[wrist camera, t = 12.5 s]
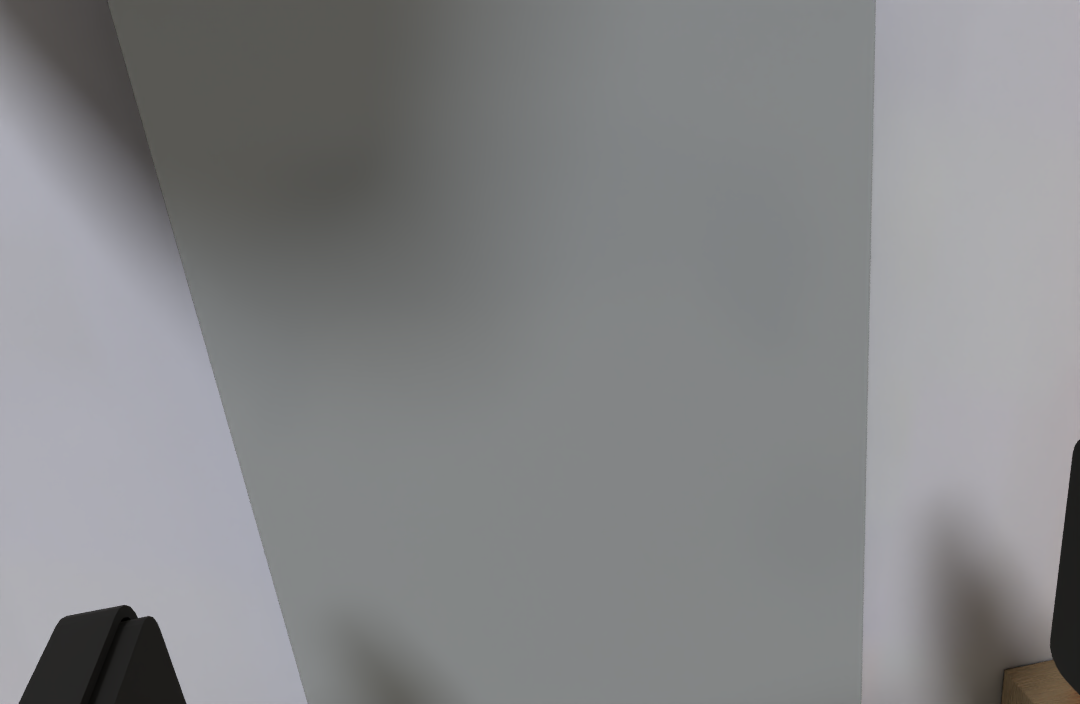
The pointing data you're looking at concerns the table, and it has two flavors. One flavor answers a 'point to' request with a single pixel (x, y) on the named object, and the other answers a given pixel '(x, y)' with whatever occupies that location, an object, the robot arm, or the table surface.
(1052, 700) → the balance
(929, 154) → the table surface
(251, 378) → the slate mat
